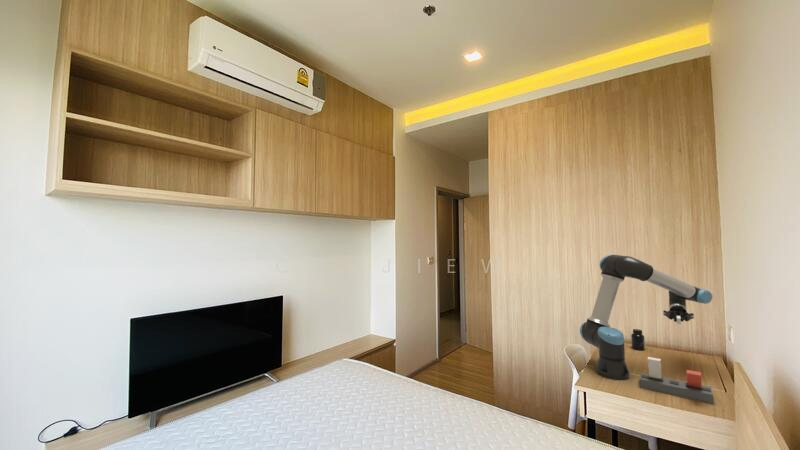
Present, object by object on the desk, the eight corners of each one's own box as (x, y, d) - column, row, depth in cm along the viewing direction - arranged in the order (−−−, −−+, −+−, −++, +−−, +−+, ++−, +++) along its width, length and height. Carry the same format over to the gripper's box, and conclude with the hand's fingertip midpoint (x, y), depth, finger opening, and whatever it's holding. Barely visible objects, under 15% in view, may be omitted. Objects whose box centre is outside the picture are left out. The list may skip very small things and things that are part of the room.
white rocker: (648, 377, 159) (647, 358, 157) (648, 375, 160) (647, 356, 158) (661, 379, 156) (660, 361, 154) (661, 377, 157) (660, 359, 155)
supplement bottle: (645, 351, 203) (644, 332, 204) (632, 349, 207) (631, 330, 207) (644, 347, 209) (643, 329, 210) (631, 346, 213) (630, 327, 213)
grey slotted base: (639, 387, 159) (639, 378, 159) (641, 380, 165) (640, 371, 166) (713, 404, 142) (713, 393, 142) (711, 395, 149) (711, 385, 149)
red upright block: (686, 385, 150) (686, 372, 146) (686, 382, 151) (686, 369, 146) (701, 388, 147) (701, 375, 142) (701, 385, 148) (701, 372, 143)
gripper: (693, 320, 178) (696, 330, 160) (663, 316, 187) (662, 326, 169) (693, 306, 179) (695, 315, 160) (662, 303, 187) (662, 312, 169)
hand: (678, 321), depth 165 cm, fingers closed
